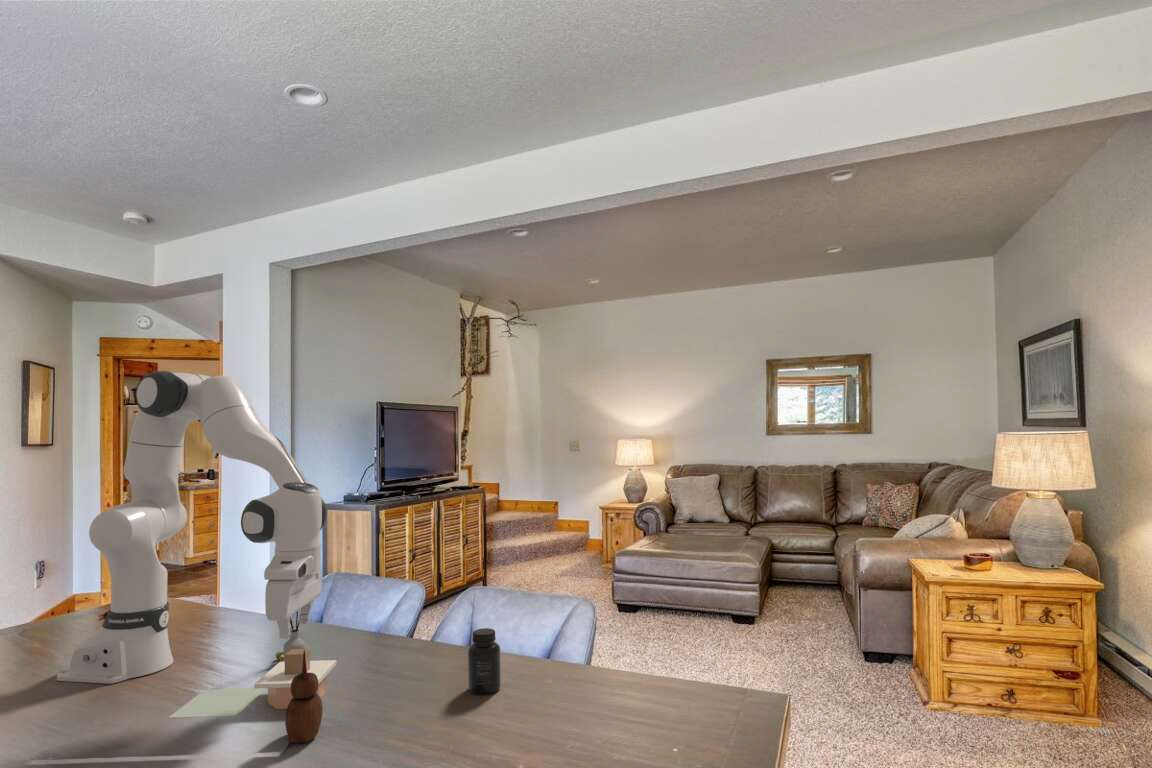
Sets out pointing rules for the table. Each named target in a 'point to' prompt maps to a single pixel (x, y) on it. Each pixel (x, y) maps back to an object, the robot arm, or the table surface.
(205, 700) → the mat
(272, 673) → the lid
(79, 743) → the table surface
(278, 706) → the bowl
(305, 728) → the wooden figurine
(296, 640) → the reed diffuser
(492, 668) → the supplement bottle
